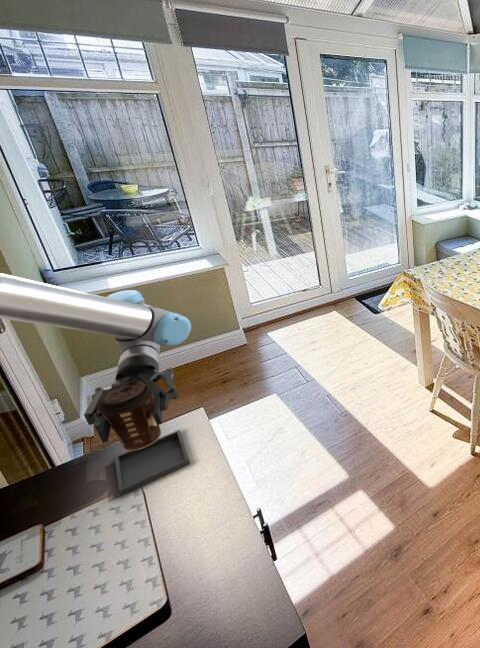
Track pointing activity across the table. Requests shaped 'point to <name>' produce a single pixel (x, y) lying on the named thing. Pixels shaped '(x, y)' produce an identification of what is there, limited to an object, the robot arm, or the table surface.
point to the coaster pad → (150, 462)
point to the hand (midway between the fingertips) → (131, 427)
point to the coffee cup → (131, 414)
